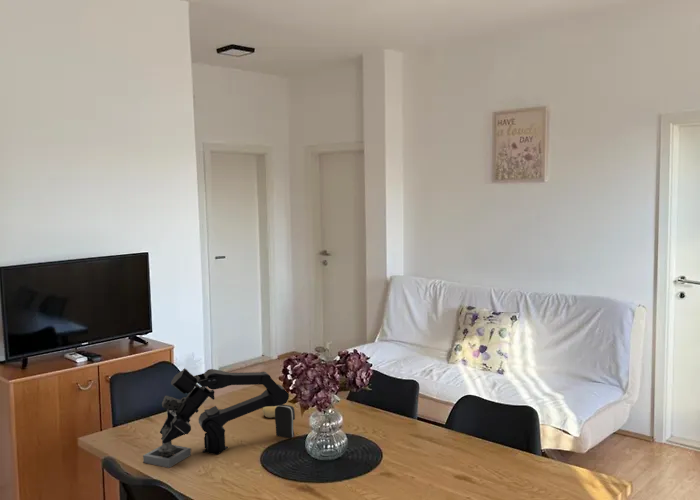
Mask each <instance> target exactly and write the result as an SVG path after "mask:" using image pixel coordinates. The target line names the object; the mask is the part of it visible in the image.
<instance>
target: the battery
mask: <svg viewBox="0 0 700 500" xmlns="http://www.w3.org/2000/svg"><path fill="white" fill-rule="evenodd" d="M274 420H275V421H274V423H275V435H276V437H282V438H288V439H289V438H290V439H291V438H294V436H295V432H294V421H295V420H296V413H295V408H294V406H292V405H290V404H289V405H287V404H283V405H279V406H277V407H276V408H275V417H274Z"/></svg>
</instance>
